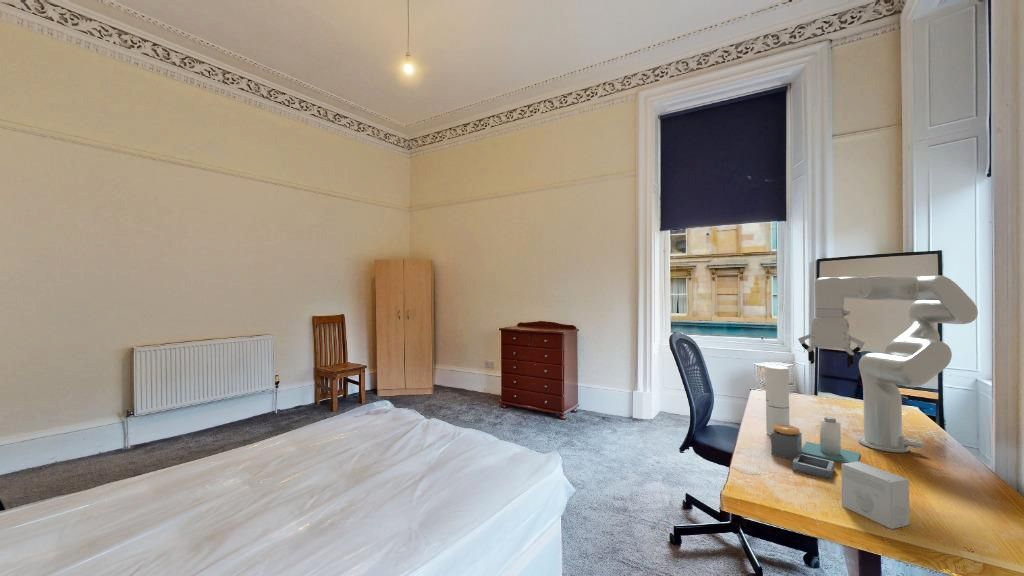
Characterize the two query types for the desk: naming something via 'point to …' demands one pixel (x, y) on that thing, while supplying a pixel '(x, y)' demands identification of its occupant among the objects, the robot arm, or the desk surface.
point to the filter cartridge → (830, 436)
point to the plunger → (786, 429)
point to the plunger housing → (786, 445)
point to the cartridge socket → (813, 466)
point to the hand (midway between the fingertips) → (830, 365)
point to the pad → (845, 456)
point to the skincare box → (876, 494)
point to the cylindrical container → (777, 396)
